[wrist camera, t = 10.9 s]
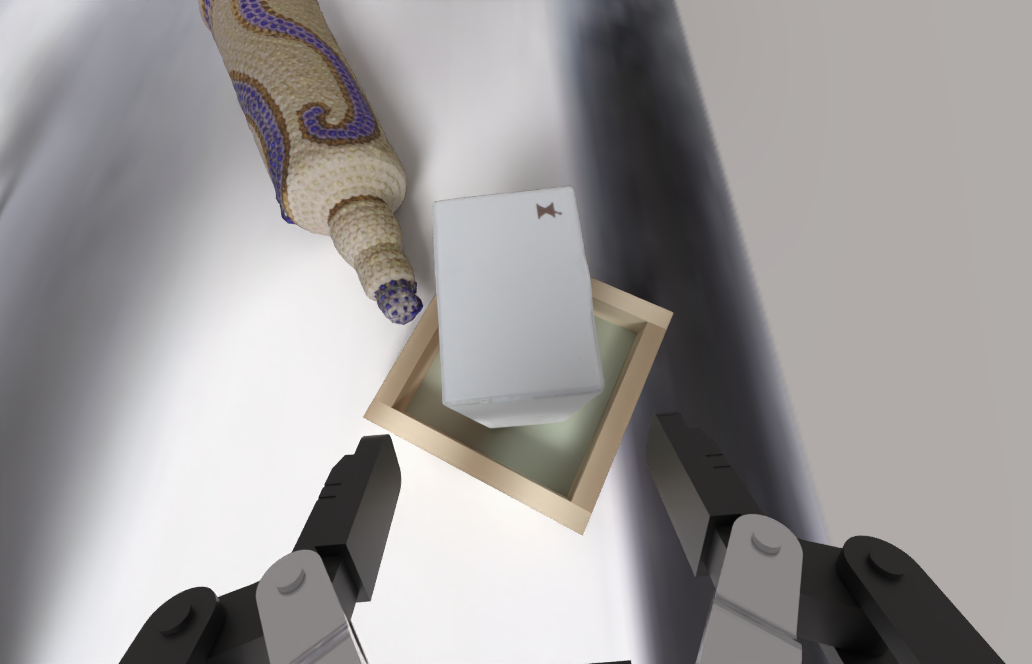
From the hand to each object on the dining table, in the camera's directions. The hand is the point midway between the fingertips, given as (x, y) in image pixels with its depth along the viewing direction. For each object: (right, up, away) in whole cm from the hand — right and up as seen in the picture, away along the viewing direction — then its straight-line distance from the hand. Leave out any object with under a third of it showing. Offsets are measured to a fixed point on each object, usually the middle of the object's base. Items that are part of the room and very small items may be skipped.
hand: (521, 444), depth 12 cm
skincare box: (0, +1, +10) cm, 10 cm away
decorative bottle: (-13, +14, +15) cm, 25 cm away
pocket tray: (0, +1, +10) cm, 10 cm away
